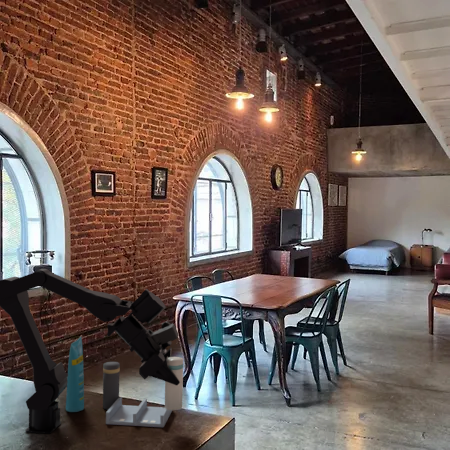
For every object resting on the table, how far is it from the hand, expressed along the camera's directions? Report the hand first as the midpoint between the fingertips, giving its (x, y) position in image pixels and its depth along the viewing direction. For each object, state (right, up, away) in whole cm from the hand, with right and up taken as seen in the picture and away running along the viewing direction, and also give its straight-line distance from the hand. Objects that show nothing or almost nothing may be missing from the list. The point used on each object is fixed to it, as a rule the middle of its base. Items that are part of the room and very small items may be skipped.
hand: (179, 380), depth 124 cm
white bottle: (-1, -7, 0) cm, 7 cm away
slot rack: (-11, -12, +8) cm, 18 cm away
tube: (-30, -12, +13) cm, 35 cm away
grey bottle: (-21, -12, +15) cm, 28 cm away
